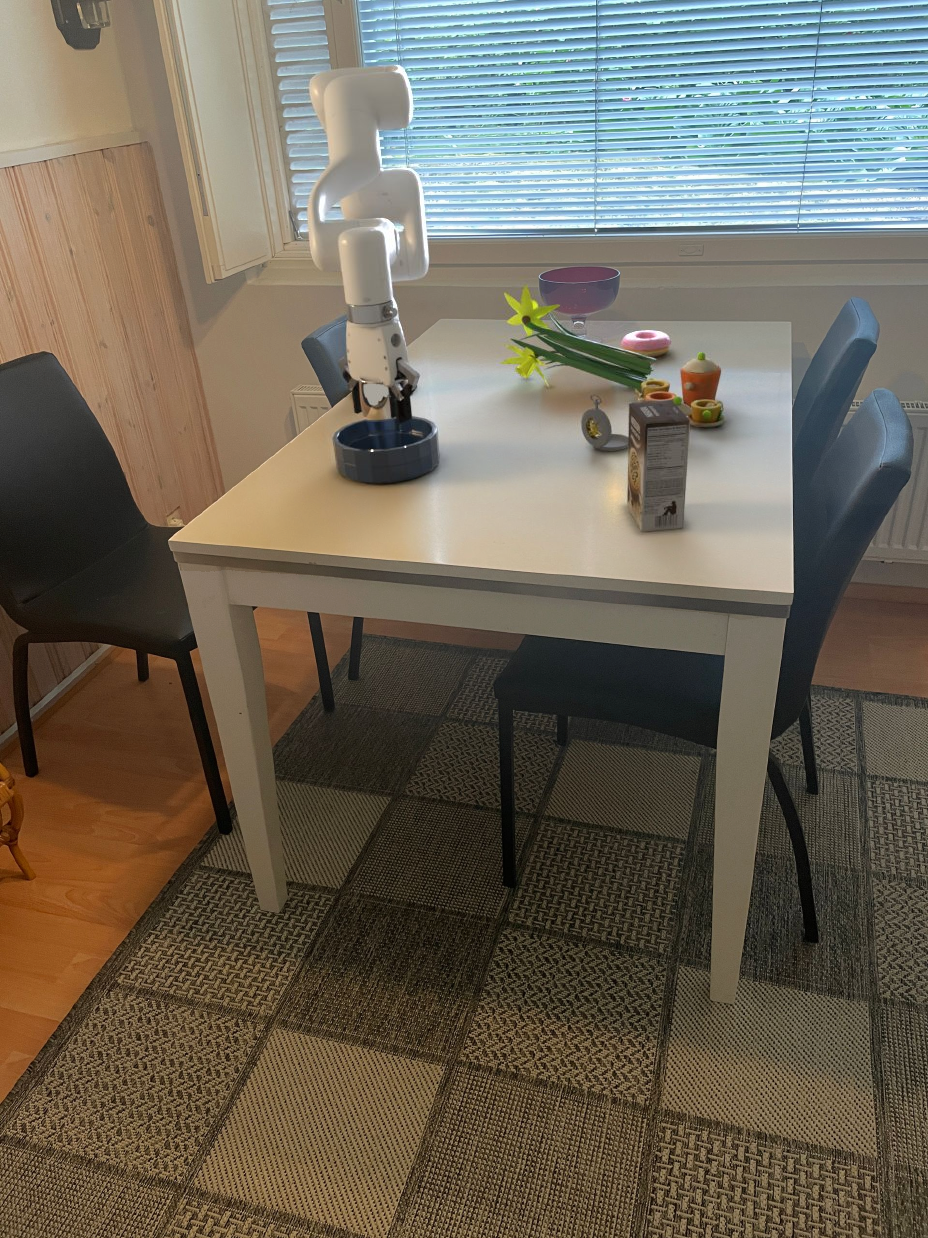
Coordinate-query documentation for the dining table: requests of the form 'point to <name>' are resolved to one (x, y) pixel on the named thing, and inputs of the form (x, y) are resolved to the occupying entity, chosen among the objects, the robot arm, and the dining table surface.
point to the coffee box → (657, 464)
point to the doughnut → (646, 343)
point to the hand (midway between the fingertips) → (383, 415)
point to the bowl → (386, 453)
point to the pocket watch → (601, 430)
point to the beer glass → (380, 415)
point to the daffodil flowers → (528, 358)
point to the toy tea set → (691, 392)
